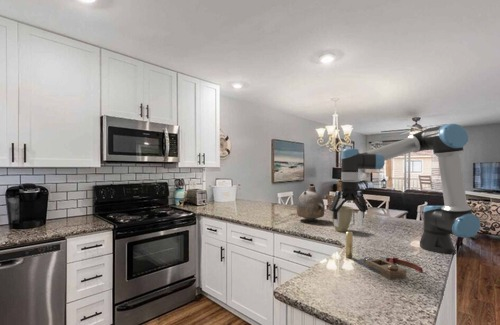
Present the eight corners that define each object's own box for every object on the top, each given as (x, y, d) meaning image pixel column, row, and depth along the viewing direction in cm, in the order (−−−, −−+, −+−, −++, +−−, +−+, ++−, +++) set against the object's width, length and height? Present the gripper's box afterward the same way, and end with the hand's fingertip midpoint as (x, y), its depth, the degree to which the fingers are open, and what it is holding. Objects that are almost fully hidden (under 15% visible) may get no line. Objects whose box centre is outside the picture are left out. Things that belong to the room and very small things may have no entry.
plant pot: (349, 234, 166) (349, 209, 166) (326, 230, 175) (326, 207, 175) (355, 230, 178) (355, 206, 178) (334, 226, 186) (334, 204, 187)
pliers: (392, 256, 126) (392, 251, 126) (424, 274, 106) (424, 267, 106) (370, 257, 125) (370, 252, 125) (398, 275, 105) (398, 268, 105)
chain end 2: (380, 265, 114) (380, 256, 114) (406, 277, 101) (406, 267, 102) (365, 267, 111) (365, 257, 112) (390, 279, 99) (390, 269, 99)
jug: (290, 221, 203) (290, 183, 204) (301, 217, 221) (301, 182, 221) (320, 225, 189) (321, 184, 190) (330, 220, 207) (330, 183, 207)
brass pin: (349, 256, 125) (349, 231, 125) (353, 258, 122) (354, 232, 122) (344, 256, 124) (344, 231, 124) (348, 258, 121) (348, 233, 122)
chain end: (372, 261, 119) (372, 255, 119) (395, 272, 106) (395, 266, 106) (357, 262, 116) (357, 257, 116) (379, 274, 104) (379, 268, 104)
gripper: (365, 180, 131) (364, 222, 131) (322, 180, 124) (321, 224, 123) (376, 181, 124) (375, 226, 124) (331, 181, 117) (330, 228, 116)
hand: (348, 225), depth 123 cm, fingers open, 13 cm apart
